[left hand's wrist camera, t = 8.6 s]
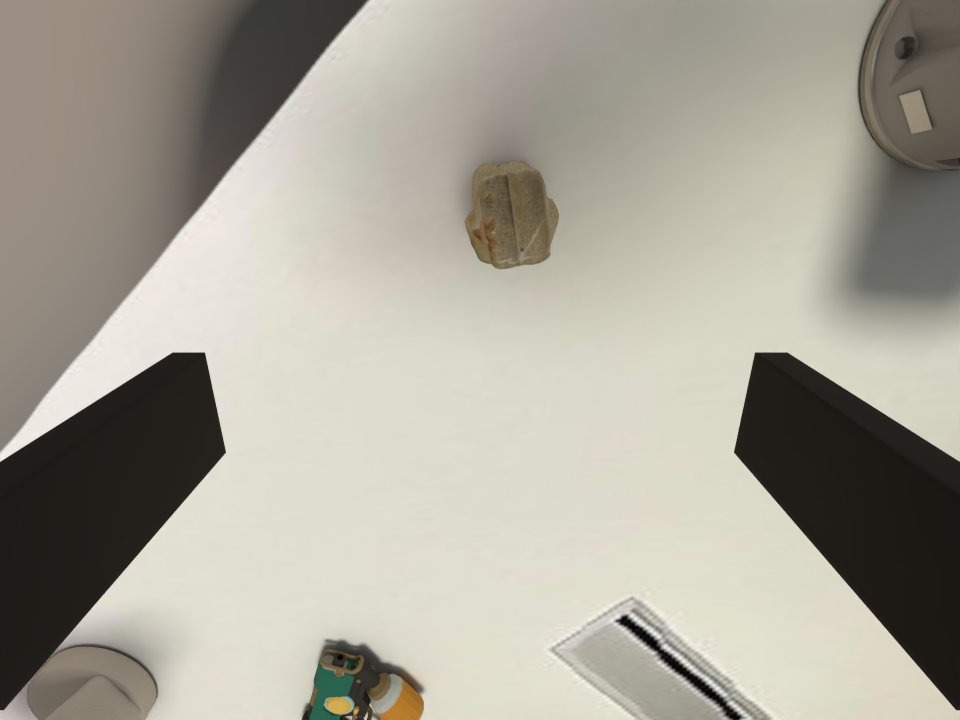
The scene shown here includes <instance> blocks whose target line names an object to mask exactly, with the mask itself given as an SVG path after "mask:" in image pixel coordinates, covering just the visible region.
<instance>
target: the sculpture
mask: <svg viewBox="0 0 960 720" xmlns="http://www.w3.org/2000/svg"><path fill="white" fill-rule="evenodd" d="M473 207H474V211H472V212H471V213H470V214H469V215H468V217H467V218H466V220H465V225H466V229H467V232H468V234H469V237H470V240H471V244H472V246H473V248H474V250H475V252H476V254H477V256H478V258H479V260H481V261H482V262H485V263H488V264H492V265H493V266H494V267H495V268H497V269H507V268H512V267H515V266H520V265H531V264H538V263H541V262H542V261H544V260H546V259H547V258H548V257H549V256H550V244H551V242H552V239H553V236H554V233H555V230H556V227H557V223H558V218H559V214H558V210H557V207H556V205H555V203H554V201H553V200H552V199H549V198H547V195H546V188H545V184H544V181H543V178H542V176H541V174H540V173H539V171H538V170H535V169H531V167H530V166H529V164H527V163H525V162H520V161H512V162H509V163H503V164H501V165H500V166H499V167H498V166H497V165H496V164H495V163H487V164H483V165H481V166H480V167H479V168H478V169H477V170H476V171H475V174H474V177H473Z"/></svg>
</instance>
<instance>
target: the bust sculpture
mask: <svg viewBox="0 0 960 720" xmlns="http://www.w3.org/2000/svg"><path fill="white" fill-rule="evenodd" d="M27 701H28V705H29V707H30V709H31V711H32V712H33V714H34V715H35V716H36V717H37V719H38V720H145V719H146V717H147V716H148V714H149V712H150V711H151V709H152V707H153V706H154V704H155V701H156V687H155V684H154V682H153V680H152V678H151V677H150V675H149V674H148V673H147V672H146V671H145V670H144V669H143V668H142V667H141V666H140V665H139V664H137V663H136V662H135V661H133V660H132V659H130V658H128V657H126V656H124V655H122V654H120V653H117V652H114V651H111V650H108V649H103V648H98V647H75V648H70V649H66V650H64V651H61V652H59V653H58V654H56V655H55V656H53V657H52V658H51V659H50V660H49V661H48V663H47V664H46V665H45V666H44V667H43V668H42V670H41V671H40V672H39V673H38V674H37V675H36V677H35V678H34V679H33V680H32V681H31V683H30V684H29V686H28V689H27Z"/></svg>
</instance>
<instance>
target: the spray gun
mask: <svg viewBox="0 0 960 720" xmlns="http://www.w3.org/2000/svg"><path fill="white" fill-rule="evenodd" d="M325 653H332V654H335V656H330V655H325V656H324V654H325ZM348 658H349V660H348V661H347V659H348ZM352 659H353V660H359V659H360V661H357V662H356V663H355V664H354V662H353V660H352ZM314 684H315V687H314V690H313V693H312V697H311V700H310V705H311V706H310V709H309V710H308V711H306V712H305V714H304V715H303V717H302V720H342V719H341V718H340V717H341V716H352V720H364V719H363V718H364V717H365V715H366V712H367V711H368V712H369V713H368V718H367V720H371V719H372V712H373V710H372V708H371V707H370V706H369V704H370V700H371V705H372V707H373V709H374V711H375V712H376V713H377V714H378V715H379V716H380V717H381V718H382V719H383V720H420V718H421V716H422V714H423V710H424V702H423V699H422V697H421V696H420V695H419V694H418V693H417V692H416V691H415V690H414V689H413V688H412V687H411V686H410V685H409V684H408V683H406V682H405V681H404V680H403V679H402V678H401V677H399V676H397V675H395V674H387V673H381V674H379V675H378V674H377V672H376V671H375V670H374V669H373V668H372V667H371V666H370V665H369V664H368V663H367V661H366V660H364V657H363V656H362V655H358V656H353V655H350V654H347V653H343V652H340V651H336V650H333V649H325V650H324V651H323V652H322V655H321V658H320V661H319V664H318V668H317V671H316V674H315V677H314ZM367 687H368V688H369V692H368V694H369V696H368V694H367V692H366V691H365V690H366V688H367ZM369 697H370V698H371V699H370V698H369ZM356 716H357V718H356Z"/></svg>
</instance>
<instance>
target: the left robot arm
mask: <svg viewBox="0 0 960 720" xmlns="http://www.w3.org/2000/svg"><path fill="white" fill-rule="evenodd" d="M860 96H861V105H862V111H863V114H864V118H865V121H866V123H867V126H868V128H869V130H870V132H871V134H872V136H873V138H874V139H875V140H876V142H877V143H878V144H879V145H880V147H881V148H882V149H883V150H884V151H885V152H887V153H888V154H889V155H890V156H892V157H893V158H895V159H896V160H898V161H900V162H902V163H904V164H907V165H909V166H913V167H916V168H921V169H929V170H960V0H888V2H887V3H886V5H885V6H884V8H883V10H882V12H881V14H880V15H879V17H878V19H877V21H876V23H875V26H874V28H873V30H872V32H871V35H870V38H869V40H868V43H867V47H866V50H865V54H864V58H863V63H862V69H861V77H860ZM225 453H226V451H225V446H224V441H223V436H222V432H221V427H220V422H219V417H218V413H217V408H216V403H215V398H214V394H213V389H212V384H211V379H210V375H209V370H208V365H207V360H206V356H205V353H171V354H170V355H168V356H167V357H165V358H163V359H162V360H160V361H159V362H157V363H156V364H154V365H152V366H151V367H149V368H148V369H146V370H145V371H143V372H141V373H140V374H138V375H137V376H135V377H134V378H132V379H130V380H129V381H127V382H126V383H124V384H122V385H121V386H119V387H118V388H116V389H115V390H113V391H111V392H110V393H108V394H107V395H105V396H104V397H102V398H100V399H99V400H97V401H96V402H94V403H92V404H91V405H89V406H88V407H86V408H85V409H83V410H81V411H80V412H78V413H77V414H75V415H74V416H72V417H70V418H69V419H67V420H66V421H64V422H62V423H61V424H59V425H58V426H56V427H55V428H53V429H51V430H50V431H48V432H47V433H45V434H44V435H42V436H40V437H39V438H37V439H36V440H34V441H32V442H31V443H29V444H28V445H26V446H25V447H23V448H21V449H20V450H18V451H17V452H15V453H14V454H12V455H10V456H9V457H7V458H6V459H4V460H3V461H1V462H0V710H4V709H5V708H6V707H7V706H8V704H9V703H10V702H11V701H12V700H13V699H14V698H15V696H16V695H17V694H18V693H19V692H20V691H21V689H22V688H23V687H24V686H25V685H26V684H27V682H28V681H29V680H30V679H31V678H32V677H33V676H34V674H35V673H36V672H37V671H38V670H39V669H40V667H41V666H42V665H43V664H44V663H45V662H46V660H47V659H48V658H49V657H50V656H51V655H52V653H53V652H54V651H55V650H56V649H57V648H58V647H59V645H60V644H61V643H62V642H63V641H64V640H65V638H66V637H67V636H68V635H69V634H70V633H71V631H72V630H73V629H74V628H75V627H76V626H77V625H78V623H79V622H80V621H81V620H82V619H83V618H84V616H85V615H86V614H87V613H88V612H89V611H90V609H91V608H92V607H93V606H94V605H95V604H96V602H97V601H98V600H99V599H100V598H101V597H102V596H103V594H104V593H105V592H106V591H107V590H108V589H109V587H110V586H111V585H112V584H113V583H114V582H115V580H116V579H117V578H118V577H119V576H120V575H121V574H122V572H123V571H124V570H125V569H126V568H127V567H128V565H129V564H130V563H131V562H132V561H133V560H134V558H135V557H136V556H137V555H138V554H139V553H140V551H141V550H142V549H143V548H144V547H145V546H146V545H147V543H148V542H149V541H150V540H151V539H152V538H153V536H154V535H155V534H156V533H157V532H158V531H159V529H160V528H161V527H162V526H163V525H164V524H165V523H166V521H167V520H168V519H169V518H170V517H171V516H172V514H173V513H174V512H175V511H176V510H177V509H178V507H179V506H180V505H181V504H182V503H183V502H184V500H185V499H186V498H187V497H188V496H189V495H190V494H191V492H192V491H193V490H194V489H195V488H196V487H197V485H198V484H199V483H200V482H201V481H202V480H203V478H204V477H205V476H206V475H207V474H208V473H209V472H210V470H211V469H212V468H213V467H214V466H215V465H216V463H217V462H218V461H219V460H220V459H221V458H222V456H223V455H224V454H225ZM734 453H735V454H736V455H737V456H738V458H739V459H740V460H741V461H742V462H743V463H744V465H745V466H746V467H747V468H748V469H749V470H750V472H751V473H752V474H753V475H754V476H755V477H756V478H757V480H758V481H759V482H760V483H761V484H762V485H763V487H764V488H765V489H766V490H767V491H768V492H769V494H770V495H771V496H772V497H773V498H774V499H775V500H776V502H777V503H778V504H779V505H780V506H781V507H782V509H783V510H784V511H785V512H786V513H787V514H788V516H789V517H790V518H791V519H792V520H793V521H794V523H795V524H796V525H797V526H798V527H799V528H800V529H801V531H802V532H803V533H804V534H805V535H806V536H807V538H808V539H809V540H810V541H811V542H812V543H813V545H814V546H815V547H816V548H817V549H818V550H819V551H820V553H821V554H822V555H823V556H824V557H825V558H826V560H827V561H828V562H829V563H830V564H831V565H832V567H833V568H834V569H835V570H836V571H837V572H838V574H839V575H840V576H841V577H842V578H843V579H844V580H845V582H846V583H847V584H848V585H849V586H850V587H851V589H852V590H853V591H854V592H855V593H856V594H857V596H858V597H859V598H860V599H861V600H862V601H863V602H864V604H865V605H866V606H867V607H868V608H869V609H870V611H871V612H872V613H873V614H874V615H875V616H876V618H877V619H878V620H879V621H880V622H881V623H882V625H883V626H884V627H885V628H886V629H887V630H888V631H889V633H890V634H891V635H892V636H893V637H894V638H895V640H896V641H897V642H898V643H899V644H900V645H901V647H902V648H903V649H904V650H905V651H906V652H907V653H908V655H909V656H910V657H911V658H912V659H913V660H914V662H915V663H916V664H917V665H918V666H919V667H920V669H921V670H922V671H923V672H924V673H925V674H926V676H927V677H928V678H929V679H930V680H931V681H932V682H933V684H934V685H935V686H936V687H937V688H938V689H939V691H940V692H941V693H942V694H943V695H944V696H945V698H946V699H947V700H948V701H949V702H950V703H951V705H952V706H953V707H954V708H955V709H956V710H960V462H959V461H957V460H956V459H954V458H953V457H951V456H950V455H948V454H946V453H945V452H943V451H942V450H940V449H939V448H937V447H935V446H934V445H932V444H931V443H929V442H928V441H926V440H924V439H923V438H921V437H920V436H918V435H916V434H915V433H913V432H912V431H910V430H909V429H907V428H905V427H904V426H902V425H901V424H899V423H898V422H896V421H894V420H893V419H891V418H890V417H888V416H886V415H885V414H883V413H882V412H880V411H879V410H877V409H875V408H874V407H872V406H871V405H869V404H868V403H866V402H864V401H863V400H861V399H860V398H858V397H856V396H855V395H853V394H852V393H850V392H849V391H847V390H845V389H844V388H842V387H841V386H839V385H838V384H836V383H834V382H833V381H831V380H830V379H828V378H826V377H825V376H823V375H822V374H820V373H819V372H817V371H815V370H814V369H812V368H811V367H809V366H808V365H806V364H804V363H803V362H801V361H800V360H798V359H796V358H795V357H793V356H792V355H790V354H789V353H755V356H754V360H753V365H752V370H751V375H750V379H749V384H748V389H747V394H746V398H745V403H744V408H743V413H742V417H741V422H740V427H739V432H738V436H737V441H736V446H735V451H734Z"/></svg>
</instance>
